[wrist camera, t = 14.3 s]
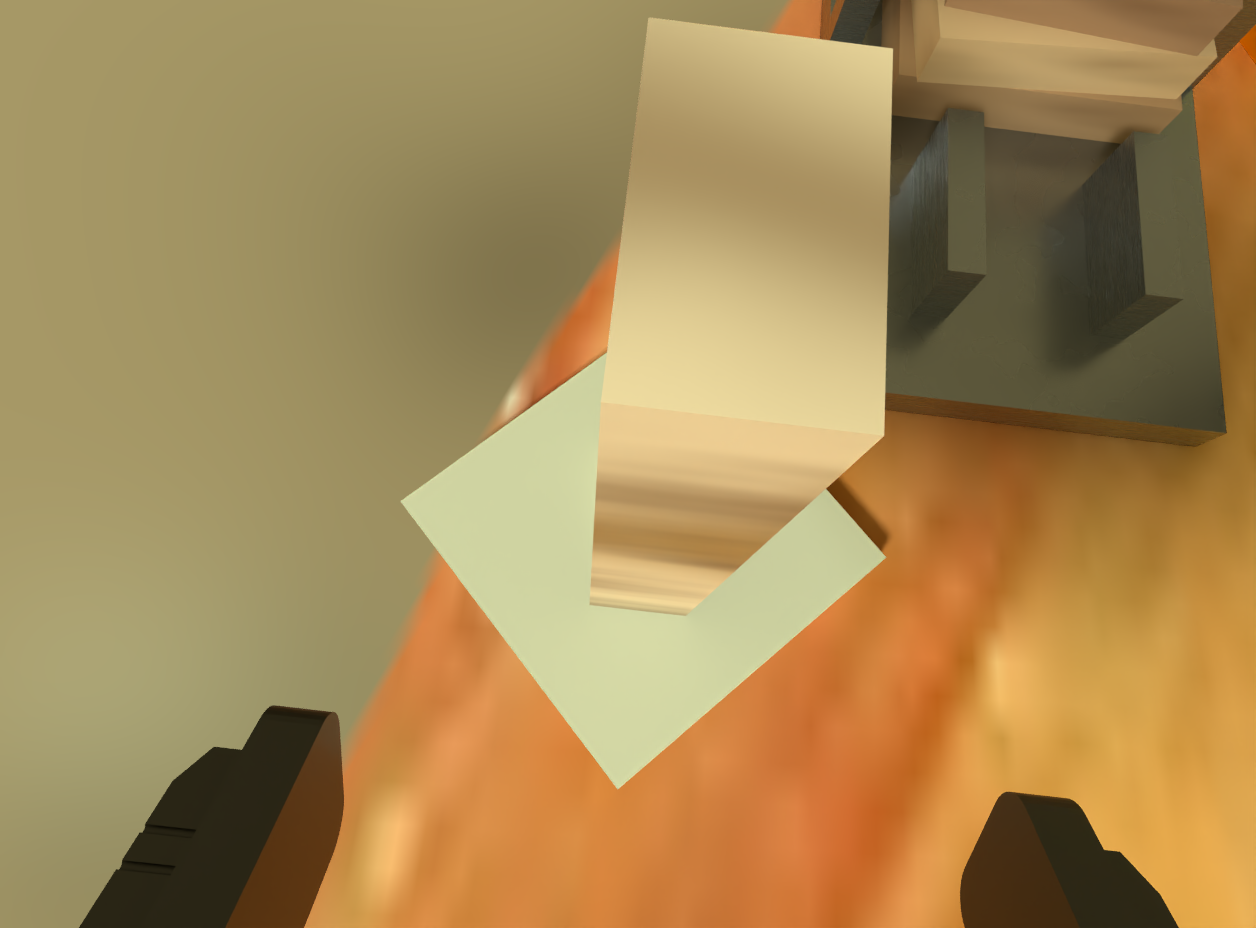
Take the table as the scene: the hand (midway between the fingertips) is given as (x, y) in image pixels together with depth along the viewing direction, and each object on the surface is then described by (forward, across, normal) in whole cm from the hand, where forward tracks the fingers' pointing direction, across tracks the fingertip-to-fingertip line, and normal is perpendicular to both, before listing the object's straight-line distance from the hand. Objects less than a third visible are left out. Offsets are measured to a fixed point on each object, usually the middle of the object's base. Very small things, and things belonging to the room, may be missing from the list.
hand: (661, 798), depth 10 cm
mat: (+16, 0, +7) cm, 18 cm away
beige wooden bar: (+15, 0, +6) cm, 17 cm away
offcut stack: (+29, -12, -8) cm, 33 cm away
